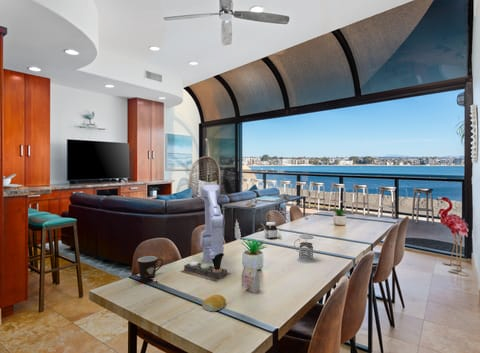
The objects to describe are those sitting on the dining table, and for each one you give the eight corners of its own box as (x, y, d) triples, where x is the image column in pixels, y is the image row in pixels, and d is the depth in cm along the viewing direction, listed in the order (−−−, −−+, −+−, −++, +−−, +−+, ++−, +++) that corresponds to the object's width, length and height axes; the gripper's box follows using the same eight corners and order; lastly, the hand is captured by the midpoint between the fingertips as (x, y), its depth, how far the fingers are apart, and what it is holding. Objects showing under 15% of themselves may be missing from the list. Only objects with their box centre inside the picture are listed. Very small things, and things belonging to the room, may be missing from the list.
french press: (315, 263, 160) (315, 218, 159) (294, 262, 162) (294, 218, 161) (314, 258, 169) (314, 216, 169) (294, 257, 172) (294, 215, 171)
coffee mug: (137, 284, 132) (137, 262, 132) (138, 277, 141) (138, 257, 140) (163, 281, 136) (163, 260, 135) (163, 275, 144) (163, 255, 143)
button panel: (196, 267, 154) (195, 260, 154) (231, 276, 142) (231, 268, 141) (179, 274, 144) (179, 266, 144) (216, 284, 132) (216, 276, 131)
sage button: (204, 267, 146) (204, 263, 146) (211, 268, 143) (211, 264, 143) (198, 269, 142) (198, 265, 142) (205, 271, 140) (205, 267, 140)
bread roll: (229, 304, 113) (229, 294, 113) (215, 314, 106) (215, 303, 106) (213, 299, 118) (213, 289, 118) (198, 307, 111) (198, 297, 111)
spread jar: (263, 237, 221) (263, 222, 220) (275, 235, 226) (275, 220, 225) (271, 240, 210) (271, 224, 210) (284, 239, 215) (284, 223, 214)
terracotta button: (216, 270, 142) (216, 266, 142) (223, 272, 139) (223, 268, 139) (210, 273, 138) (210, 269, 138) (218, 275, 136) (218, 271, 136)
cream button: (193, 264, 150) (193, 260, 150) (200, 265, 148) (200, 262, 147) (187, 266, 146) (187, 262, 146) (194, 268, 144) (194, 264, 144)
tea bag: (247, 286, 130) (247, 264, 129) (259, 290, 125) (259, 268, 125) (242, 289, 127) (242, 266, 126) (254, 293, 123) (254, 270, 122)
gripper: (214, 236, 146) (214, 263, 147) (203, 244, 132) (203, 273, 133) (227, 237, 144) (227, 264, 145) (218, 245, 130) (218, 275, 131)
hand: (217, 269), depth 139 cm, fingers closed, pressing on terracotta button
